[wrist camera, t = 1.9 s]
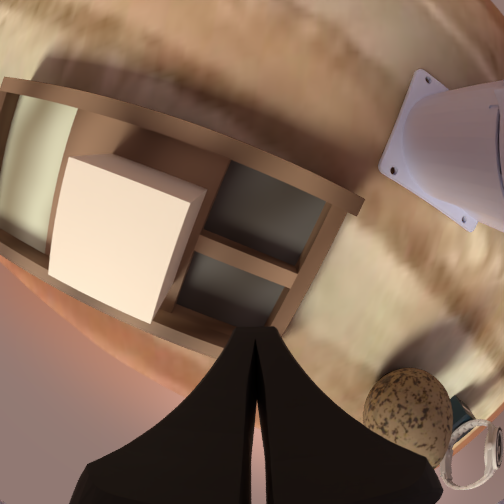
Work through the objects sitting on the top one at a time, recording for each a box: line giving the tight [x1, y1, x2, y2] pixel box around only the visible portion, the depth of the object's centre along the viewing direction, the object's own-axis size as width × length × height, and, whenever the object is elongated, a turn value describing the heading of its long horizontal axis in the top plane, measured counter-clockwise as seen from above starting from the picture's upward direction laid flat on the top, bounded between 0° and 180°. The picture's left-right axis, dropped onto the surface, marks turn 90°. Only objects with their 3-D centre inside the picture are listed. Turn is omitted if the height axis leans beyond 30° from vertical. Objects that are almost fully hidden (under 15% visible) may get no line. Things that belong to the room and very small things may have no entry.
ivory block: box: [48, 154, 207, 324], centre depth 14 cm, size 6×6×4 cm
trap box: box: [0, 77, 365, 359], centre depth 16 cm, size 24×12×3 cm, turn 67°
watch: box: [440, 395, 503, 490], centre depth 19 cm, size 6×8×11 cm
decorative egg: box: [363, 368, 453, 469], centre depth 17 cm, size 7×7×10 cm
